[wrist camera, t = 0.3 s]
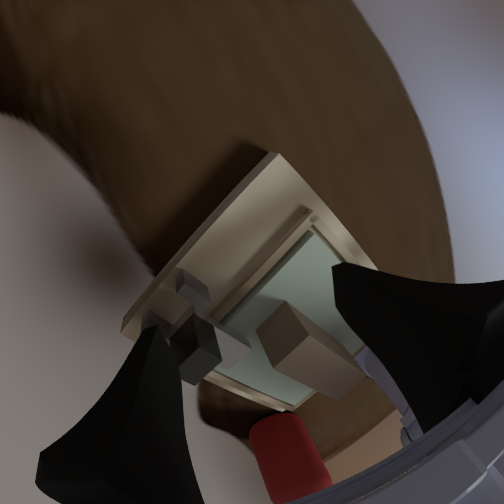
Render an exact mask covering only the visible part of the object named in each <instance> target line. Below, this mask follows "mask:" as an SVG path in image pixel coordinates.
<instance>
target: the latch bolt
mask: <svg viewBox="0 0 504 504" xmlns="http://www.w3.org/2000/svg"><path fill="white" fill-rule="evenodd" d="M169 340H170V348H171V350H172V352H173V354H174V356H175V358H176V359H177V361H178V366H179V371H180V377H181V380H184V381H185V382H188V383H190V384H192V385H194V386H195V385H196V384H197V383H199V382H200V381H201V380H202V379H203V378H204V377H205V376H206V375H207V374H209V373H210V372H211V371H212V370H213V369H214V368H215V367H216V366H217V365H218V366H220V367H222V368H224V369H226V370H228V371H229V370H230V369H231V368H232V367H233V366H234V365H235V364H237V363H238V362H239V361H240V360H241V359H242V358H243V357H244V356H245V355H246V354H248V353H249V352H250V351H251V350H252V348H251V345H250V343H249V340H247V339H246V338H244V337H242V336H241V335H239V334H237V333H236V332H234V331H233V330H231V329H229V328H228V327H226V326H225V325H223V324H222V323H220V322H218V321H217V320H215V319H214V318H212V317H211V316H209V315H208V314H206V313H205V312H203V311H202V310H200V309H199V308H197V307H196V306H194V305H193V304H192V305H191V306H190V307H189V308H188V309H187V310H186V311H185V312H184V313H183V314H182V316H181V317H180V318H179V319H178V320H177V321H176V322H175V323H174V324H173V325H172V326H171V328H170V329H169Z"/></svg>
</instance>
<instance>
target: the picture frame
mask: <svg viewBox="0 0 504 504" xmlns="http://www.w3.org/2000/svg"><path fill="white" fill-rule="evenodd" d="M308 229H309V230H310V231H312V232H313V233H314V234H315V235H316V236H317V237H318V238H319V239H320V240H321V241H322V242H323V243H324V244H325V245H326V246H327V248H328V249H329V250H330V251H331V252H332V253H333V254H334V255H335V256H336V257H337V258H338V260H339V261H340V262H341V263H342V262H349V263H353V264H357V265H360V266H364V267H367V268H371V269H374V270H378V269H377V268H376V267H375V265H374V264H373V263H372V261H371V260H370V259H369V258H368V256H367V255H366V254H365V252H364V251H363V250H362V249H361V247H360V246H359V245H358V243H357V242H356V241H355V240H354V238H353V237H352V236H351V235H350V233H349V232H348V231H347V230H346V229H345V227H344V226H343V225H342V224H341V222H340V221H339V220H338V219H337V218H336V216H335V215H334V214H333V213H332V212H331V210H330V209H329V208H328V207H327V206H326V205H325V203H324V202H323V201H322V200H321V199H320V198H319V197H318V195H317V194H316V193H315V192H314V191H313V190H312V189H311V187H310V186H309V185H308V184H307V183H306V182H305V181H304V180H303V178H302V177H301V176H300V175H299V174H298V173H297V172H296V171H295V170H294V169H293V168H292V166H291V165H290V164H289V163H288V162H287V161H286V160H285V159H284V158H283V157H282V156H281V155H280V154H279V153H272V152H269V153H268V154H267V155H266V156H265V157H264V158H263V159H262V160H261V161H260V162H259V163H258V164H257V165H256V166H255V167H254V168H253V169H252V170H251V171H250V172H249V173H248V174H247V175H246V177H245V178H244V179H243V180H242V181H241V182H240V183H239V184H238V185H237V186H236V187H235V188H234V189H233V190H232V191H231V192H230V194H229V195H228V196H227V197H226V198H225V199H224V200H223V201H222V202H221V203H220V204H219V206H218V207H217V208H216V209H215V210H214V211H213V212H212V213H211V214H210V215H209V217H208V218H207V219H206V220H205V221H204V222H203V223H202V224H201V225H200V227H199V228H198V229H197V230H196V231H195V232H194V233H193V235H192V236H191V237H190V238H189V239H188V240H187V241H186V243H185V244H184V245H183V246H182V247H181V248H180V249H179V251H178V252H177V253H176V254H175V255H174V256H173V258H172V259H171V260H170V261H169V262H168V263H167V265H166V266H165V267H164V268H163V269H162V271H161V272H160V273H159V274H158V275H157V277H156V278H155V279H154V280H153V281H152V283H151V284H150V285H149V286H148V288H147V289H146V290H145V291H144V292H143V294H142V295H141V296H140V297H139V299H138V300H137V301H136V302H135V304H134V305H133V306H132V307H131V309H130V310H129V311H128V313H127V314H126V315H125V316H124V318H123V323H122V328H121V333H122V334H123V335H125V336H127V337H128V338H130V339H132V340H133V341H135V342H136V341H137V339H138V338H139V336H140V334H141V333H142V331H143V329H145V328H148V327H151V326H155V325H158V326H159V328H160V330H161V331H162V333H163V335H164V337H165V339H166V341H167V343H168V345H169V347H170V340H169V329H170V328H171V326H172V325H173V324H174V323H175V322H176V321H177V320H178V319H179V318H180V317H181V316H182V314H183V313H184V312H185V311H186V310H187V309H188V308H189V307H190V306H191V305H192V304H193V305H194V306H196V307H197V308H199V309H200V310H202V311H203V312H205V313H206V314H208V315H209V316H211V317H212V318H214V319H215V320H217V321H218V322H219V321H220V320H221V319H222V318H223V317H224V316H225V315H226V314H227V313H228V312H229V311H230V310H231V309H232V308H233V307H234V306H235V305H236V304H237V303H238V302H239V301H240V300H241V299H242V298H243V297H244V296H245V295H246V294H247V293H248V292H249V291H250V290H251V289H252V288H253V287H254V286H255V284H256V283H257V282H258V281H259V280H260V279H261V278H262V277H263V276H264V275H265V274H266V273H267V272H268V271H269V270H270V269H271V268H272V267H273V266H274V265H275V264H276V263H277V262H278V260H279V259H280V258H281V257H282V256H283V255H284V254H285V253H286V252H287V251H288V250H289V249H290V248H291V247H292V246H293V245H294V244H295V243H296V241H297V240H298V239H299V238H300V237H301V236H302V235H303V234H304V233H305V232H306V231H307V230H308ZM365 347H366V345H365V344H363V345H362V346H361V347H360V348H359V349H358V350H357V351H356V352H355V353H354V354H353V355H352V357H353V358H355V357H356V356H357V355H358V354H359V353H360V352H361V351H362V350H363V349H364V348H365ZM203 379H205V380H207V381H209V382H212V383H214V384H216V385H218V386H220V387H222V388H225V389H227V390H229V391H231V392H234V393H236V394H238V395H241V396H243V397H245V398H248V399H250V400H253V401H255V402H258V403H260V404H263V405H265V406H268V407H270V408H273V409H276V410H278V411H281V412H283V411H285V410H286V409H287V410H289V411H293V410H295V409H296V408H297V407H298V406H300V405H301V404H302V403H304V402H305V401H306V400H307V399H308V398H310V397H311V396H312V395H313V394H315V393H316V392H317V391H316V390H313V391H312V392H311V393H309V394H308V395H307V396H306V397H304V398H303V399H302V400H301V401H300V402H298V403H297V404H296V405H292V404H290V403H287V402H285V401H282V400H280V399H277V398H275V397H273V396H270V395H268V394H266V393H263V392H261V391H259V390H256V389H254V388H252V387H250V386H248V385H245V384H243V383H241V382H239V381H237V380H235V379H233V378H231V377H229V376H227V375H225V374H222V373H220V372H218V371H216V370H215V369H213V370H212V371H211V372H210V373H209V374H207V375H206V376H205V377H204V378H203Z"/></svg>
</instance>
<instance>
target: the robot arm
mask: <svg viewBox="0 0 504 504" xmlns="http://www.w3.org/2000/svg"><path fill="white" fill-rule="evenodd" d="M331 268H332V278H333V288H334V299H335V307H336V309H337V310H338V312H339V313H340V315H341V316H342V318H343V319H344V321H345V322H346V323H347V325H348V326H349V327H350V328H351V329H352V330H353V331H354V333H355V334H356V335H357V336H358V337H359V338H360V339H361V340H362V341H363V342H364V344H365V345H366V347H365V348H364V349H363V350H362V351H361V352H360V353H359V354H358V355H357V356H356V357H355V358H354V360H355V361H356V362H357V363H358V365H359V366H360V367H361V368H362V370H363V371H364V372H365V373H366V375H368V376H369V377H371V378H372V379H373V380H374V381H375V382H376V383H377V384H378V386H379V387H380V388H381V389H382V391H383V392H384V393H385V394H386V396H387V397H388V398H389V399H390V401H391V402H392V403H393V404H394V406H395V407H396V408H397V409H398V411H399V412H400V413H401V414H402V416H403V417H402V418H401V419H400V421H401V422H402V424H403V425H404V427H403V428H402V429H401V437H400V438H401V443H402V445H403V447H404V448H402V449H401V450H399V451H398V452H396V453H394V454H393V455H391V456H389V457H388V458H386V459H384V460H382V461H381V462H379V463H377V464H375V465H373V466H372V467H370V468H368V469H366V470H364V471H362V472H360V473H358V474H356V475H354V476H352V477H350V478H348V479H346V480H343V481H341V482H339V483H337V484H334V485H332V486H330V487H327V488H325V489H322V490H320V491H317V492H315V493H312V494H310V495H307V496H304V497H301V498H299V499H296V500H293V501H290V502H287V503H284V504H348V503H349V504H504V280H500V281H493V282H486V283H472V284H451V283H436V282H428V281H421V280H415V279H409V278H405V277H401V276H396V275H392V274H388V273H385V272H381V271H378V270H374V269H371V268H367V267H364V266H360V265H357V264H353V263H349V262H342V263H339V264H336V265H334V266H331ZM417 464H418V465H417ZM416 465H417V466H416ZM414 466H415V467H414ZM413 467H414V468H413ZM411 468H412V469H411ZM410 469H411V470H410ZM408 470H409V471H408ZM407 471H408V472H407ZM405 472H406V473H405ZM403 473H405V474H403ZM402 474H403V475H402ZM400 475H401V476H400ZM399 476H400V477H399ZM397 477H398V478H397ZM395 478H396V479H395ZM394 479H395V480H394ZM392 480H393V481H392ZM390 481H391V482H390ZM389 482H390V483H389ZM35 483H36V485H37V487H38V488H39V489H40V490H41V491H42V492H43V493H45V494H46V495H47V496H49V497H50V498H52V499H54V500H56V501H57V502H59V503H61V504H205V503H204V501H203V498H202V495H201V492H200V489H199V486H198V483H197V480H196V476H195V473H194V469H193V466H192V462H191V458H190V454H189V450H188V445H187V440H186V435H185V427H184V414H183V399H182V383H181V377H180V371H179V366H178V361H177V359H176V358H175V356H174V354H173V352H172V350H171V348H170V347H169V345H168V343H167V341H166V339H165V337H164V335H163V333H162V331H161V330H160V328H159V326H158V325H155V326H151V327H148V328H145V329H143V331H142V333H141V334H140V336H139V338H138V339H137V341H136V343H135V345H134V346H133V348H132V350H131V352H130V353H129V355H128V357H127V359H126V360H125V362H124V364H123V365H122V367H121V369H120V370H119V372H118V373H117V375H116V376H115V378H114V380H113V381H112V383H111V384H110V386H109V387H108V388H107V390H106V391H105V392H104V394H103V395H102V396H101V397H100V399H99V400H98V401H97V403H96V404H95V405H94V406H93V407H92V408H91V409H90V410H89V411H88V412H87V413H86V415H85V416H84V417H83V418H82V419H81V420H80V421H79V422H78V423H77V424H76V425H75V426H74V427H73V428H71V429H70V430H69V431H68V432H67V433H66V434H65V435H63V436H62V437H61V438H60V439H58V440H57V441H56V442H54V443H53V444H51V445H50V446H49V447H47V448H46V449H44V450H43V451H41V452H40V457H39V462H38V467H37V473H36V480H35ZM387 483H388V484H387ZM385 484H386V485H385ZM383 485H384V486H383ZM382 486H383V487H382ZM380 487H381V488H380ZM378 488H379V489H378ZM376 489H377V490H376ZM374 490H375V491H374ZM372 491H374V492H372ZM370 492H372V493H370ZM368 493H370V494H368ZM366 494H368V495H366ZM364 495H366V496H364ZM362 496H364V497H362ZM360 497H362V498H360ZM358 498H360V499H358ZM356 499H358V500H356ZM354 500H356V501H354ZM352 501H353V502H352ZM350 502H351V503H350Z"/></svg>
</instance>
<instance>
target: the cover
mask: <svg viewBox="0 0 504 504" xmlns="http://www.w3.org/2000/svg"><path fill="white" fill-rule="evenodd" d="M339 263H341V262H340V261H339V260H338V258H337V257H336V256H335V255H334V254H333V253H332V252H331V251H330V250H329V249H328V248H327V246H326V245H325V244H324V243H323V242H322V241H321V240H320V239H319V238H318V237H317V236H316V235H315V234H314V233H313V232H312V231H310V230H309V229H308V230H307V231H306V232H305V233H304V234H303V235H302V236H301V237H300V238H299V239H298V240H297V241H296V243H295V244H294V245H293V246H292V247H291V248H290V249H289V250H288V251H287V252H286V253H285V254H284V255H283V256H282V257H281V258H280V259H279V260H278V262H277V263H276V264H275V265H274V266H273V267H272V268H271V269H270V270H269V271H268V272H267V273H266V274H265V275H264V276H263V277H262V278H261V279H260V280H259V281H258V282H257V283H256V284H255V286H254V287H253V288H252V289H251V290H250V291H249V292H248V293H247V294H246V295H245V296H244V297H243V298H242V299H241V300H240V301H239V302H238V303H237V304H236V305H235V306H234V307H233V308H232V309H231V310H230V311H229V312H228V313H227V314H226V315H225V316H224V317H223V318H222V319H221V320H220V321H219V322H220V323H222V324H223V325H225V326H226V327H228V328H229V329H231V330H233V331H234V332H236V333H237V334H239V335H241V336H242V337H244V338H246V339H247V340H249V343H250V345H251V348H252V350H251V351H250V352H249V353H248V354H246V355H245V356H244V357H243V358H242V359H241V360H240V361H239V362H238V363H237V364H235V365H234V366H233V367H232V368H231V369H230V370H229V371H228V370H226V369H224V368H222V367H220V366H218V365H217V366H216V367H215V368H214V369H215V370H216V371H218V372H220V373H222V374H225V375H227V376H229V377H231V378H233V379H235V380H237V381H239V382H241V383H243V384H245V385H248V386H250V387H252V388H254V389H256V390H259V391H261V392H263V393H266V394H268V395H270V396H273V397H275V398H277V399H280V400H282V401H285V402H287V403H290V404H292V405H296V404H297V403H298V402H300V401H301V400H302V399H303V398H304V397H306V396H307V395H308V394H309V393H311V392H312V391H313V390H316V391H318V392H320V393H322V394H324V395H327V396H329V397H331V398H333V399H335V400H337V401H339V400H340V399H342V398H343V397H344V396H345V395H346V394H348V393H349V392H350V391H351V390H352V389H353V388H354V387H356V386H357V385H358V384H359V383H360V382H361V381H362V380H363V379H364V378H365V377H367V375H366V373H365V372H364V371H363V370H362V368H361V367H360V366H359V365H358V363H357V362H356V361H355V360H354V358H353V357H352V355H353V354H354V353H355V352H356V351H357V350H358V349H359V348H360V347H361V346H362V345H363V344H364V342H363V341H362V340H361V339H360V338H359V337H358V336H357V335H356V334H355V333H354V331H353V330H352V329H351V328H350V327H349V326H348V325H347V323H346V322H345V321H344V319H343V318H342V316H341V315H340V313H339V312H338V310H337V309H336V307H335V299H334V288H333V278H332V268H331V266H334V265H336V264H339Z"/></svg>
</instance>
